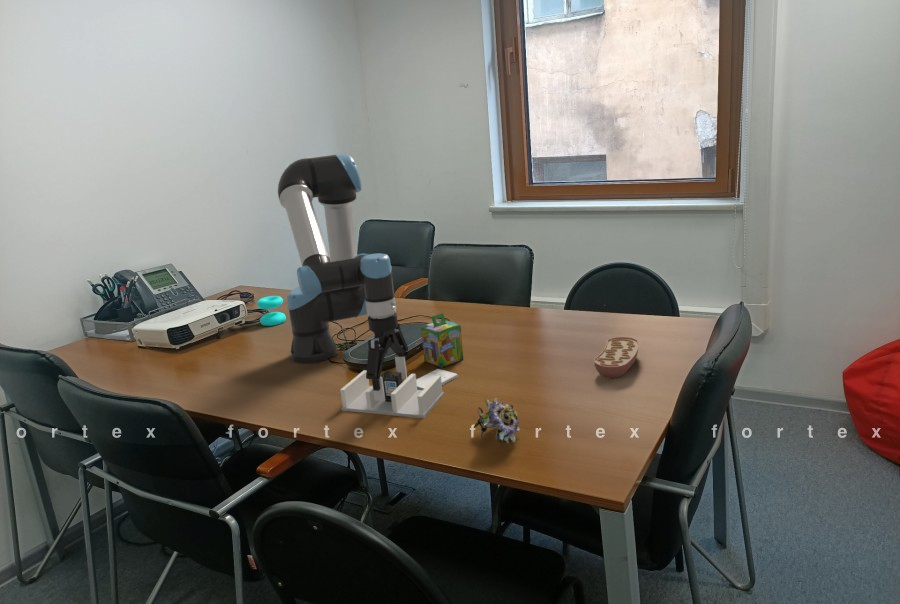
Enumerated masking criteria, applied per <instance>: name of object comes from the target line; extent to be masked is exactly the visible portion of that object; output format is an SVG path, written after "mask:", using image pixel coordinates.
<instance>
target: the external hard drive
mask: <svg viewBox="0 0 900 604" xmlns="http://www.w3.org/2000/svg"><path fill="white" fill-rule="evenodd" d="M437 375H438V376H441V382H442V385H443V386H444V385H446V384H448V383H450V382H452V381H453V379H454V380H455V379H457V378H458V376H459V375H458V374H457V373H455V372H451V371H447V370H444V369H439V368H436V369H435V370H433V371H430V372H429V373H426V374H425V375H422V376H420V377H418V378H416V382H417V390H424V389H425V387H426V386H427V385H428V384H429V383H430V382H431V381H432V380H433V379H434V378H435V377H436V376H437ZM451 380H452V381H451ZM449 381H450V382H449ZM447 382H448V383H447ZM445 383H446V384H445Z"/></svg>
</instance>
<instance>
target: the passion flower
mask: <svg viewBox="0 0 900 604" xmlns="http://www.w3.org/2000/svg"><path fill="white" fill-rule="evenodd" d="M484 402H485V405H486V407H487V410H488V411H487V412H485V413H484V410H483V409H482V407H481V406H478V407H477V410H476V411H477V414H478V415H479V418H478V419H477V422H475V423H474V426H473V428H474V429H475V428H477V426H480V438H482V436H483V434H484V433H486V432H487V429H488V428H489V429H493V428H495V429H497V432H496V434H495V439H496V440H497V442H503V443H504V444H506V445H508V444H509V442H510V443H512V444H514V443H516V432H519V431H520V430H521V429H520V427H519V423H520V420H519V419H518V413H517V411H516V410H515V408H514V405H513V404H511V403H510V405H509V404H507V403H505V404H504V402H503V401H502V402H498V398H497V397H494V398H493V401H492V402H493V403H492V402H490V400H489V399H485V401H484ZM479 410H480V411H479Z"/></svg>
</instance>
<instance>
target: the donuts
mask: <svg viewBox="0 0 900 604" xmlns="http://www.w3.org/2000/svg"><path fill="white" fill-rule="evenodd" d="M283 303H284V298H282V297H281V296H280V295H270V296H265V297H261V298H259V299H258V301H257V302H256V306H257V307H258V308H259V309H261V310H265V311H266V310H273V309H277V308H279V307H280V306H282V304H283ZM286 316H287V315H286V314H285V313H283V312H280V311H272V312H267V313H265V314H263V315H262V316H261V317H260V319H259V322H260V324H261V325H262V326H264V327H271V326H272V327H273V326H277V325H281V324H283V323H285V322H286V319H287V317H286Z"/></svg>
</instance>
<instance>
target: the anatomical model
mask: <svg viewBox="0 0 900 604" xmlns="http://www.w3.org/2000/svg"><path fill="white" fill-rule="evenodd" d="M639 345H640V343H639V340H638V339H637V338H633V337H628V336H616V337H612V338H610V339H609V338H608V339H607V340H606V344H605V346H604V348H603V350H602V351H601V352H600V354H598V355H597V356H596V357H595V358H594V360H593V362H594V368H595V370H596V372H597V373H599V374H600V375H601V376H602V377H603V378H607V379H617V378H619V377H621V376H623V375H624V374H625V373H626V372H627V371H628V370H629V369H630V368H631V367H632V365H633V364H634V362H635V361H636V359H637V357H638V353H639Z"/></svg>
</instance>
